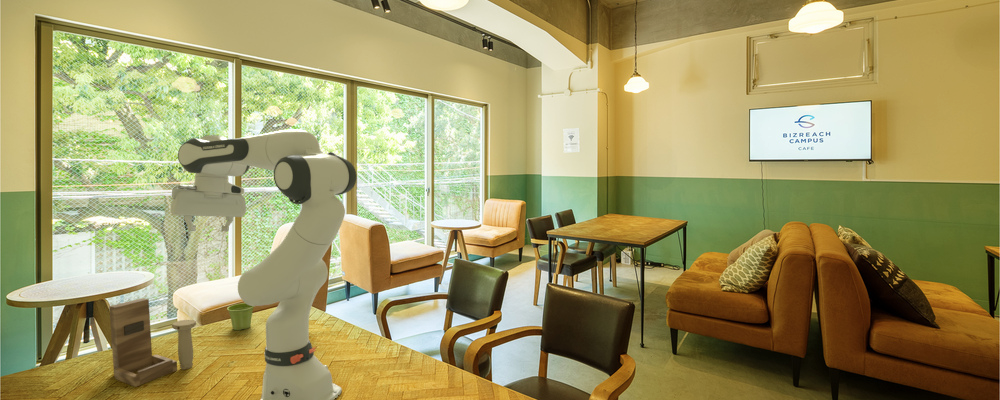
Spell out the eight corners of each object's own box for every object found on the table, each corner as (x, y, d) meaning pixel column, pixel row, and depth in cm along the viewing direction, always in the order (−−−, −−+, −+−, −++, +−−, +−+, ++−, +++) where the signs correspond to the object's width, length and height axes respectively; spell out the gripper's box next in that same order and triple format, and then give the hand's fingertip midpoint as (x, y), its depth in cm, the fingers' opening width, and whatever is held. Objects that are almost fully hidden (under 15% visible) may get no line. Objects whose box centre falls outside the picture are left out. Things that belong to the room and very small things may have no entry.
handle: (182, 363, 142) (180, 319, 141) (201, 364, 142) (199, 320, 141) (171, 370, 137) (168, 325, 136) (190, 371, 137) (188, 325, 136)
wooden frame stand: (177, 370, 138) (173, 303, 136) (135, 386, 128) (130, 314, 126) (151, 361, 144) (147, 296, 142) (109, 376, 133) (104, 307, 131)
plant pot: (237, 322, 178) (237, 302, 178) (260, 323, 178) (259, 303, 177) (222, 331, 169) (221, 310, 168) (246, 332, 169) (245, 310, 168)
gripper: (177, 183, 126) (174, 231, 125) (249, 189, 143) (247, 231, 142) (168, 184, 129) (165, 230, 129) (239, 189, 147) (237, 230, 146)
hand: (208, 231), depth 136 cm, fingers open, 8 cm apart
